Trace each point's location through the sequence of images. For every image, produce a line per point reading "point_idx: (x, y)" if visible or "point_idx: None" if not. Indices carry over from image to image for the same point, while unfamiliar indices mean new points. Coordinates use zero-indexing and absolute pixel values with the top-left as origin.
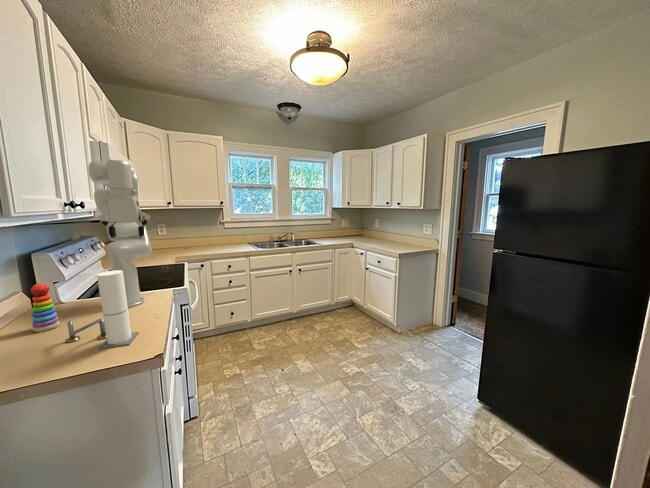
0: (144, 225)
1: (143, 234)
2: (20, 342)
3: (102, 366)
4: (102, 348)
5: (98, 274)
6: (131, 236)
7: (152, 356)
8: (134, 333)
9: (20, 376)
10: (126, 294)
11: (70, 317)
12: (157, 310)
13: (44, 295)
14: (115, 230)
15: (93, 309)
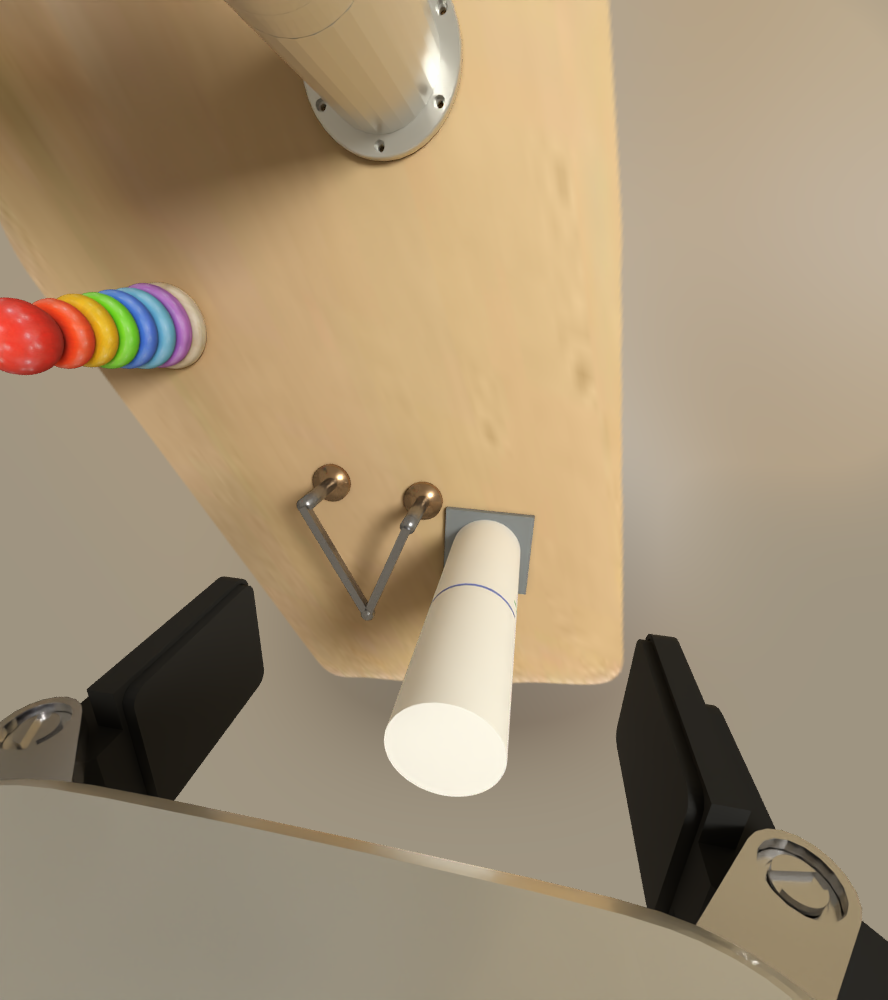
0: (815, 886)
1: (676, 656)
2: (179, 433)
3: None
4: None
5: (393, 755)
6: None
7: (606, 681)
8: (523, 526)
9: (322, 638)
10: (371, 108)
11: (187, 219)
12: (568, 268)
13: (65, 342)
14: (182, 646)
15: (228, 118)
